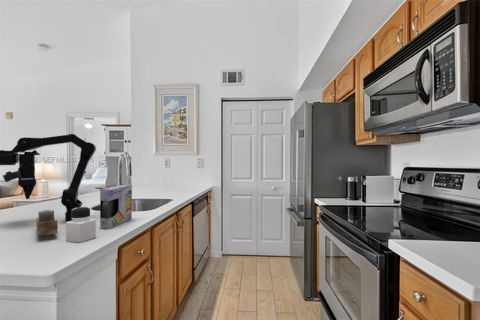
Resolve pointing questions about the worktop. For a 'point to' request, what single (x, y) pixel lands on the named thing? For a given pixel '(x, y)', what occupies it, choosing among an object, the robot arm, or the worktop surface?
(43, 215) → the grey block
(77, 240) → the medicine bottle
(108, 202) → the cake pan box
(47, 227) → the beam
